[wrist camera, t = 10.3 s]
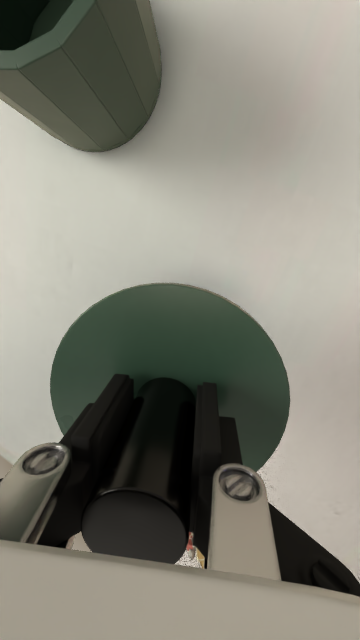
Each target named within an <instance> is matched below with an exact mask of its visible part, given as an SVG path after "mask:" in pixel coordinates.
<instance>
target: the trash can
mask: <svg viewBox="0 0 360 640" xmlns="http://www.w3.org/2000/svg"><path fill="white" fill-rule="evenodd" d="M160 84H161V51H160V45H159V41H158V37H157V32H156V28H155V23H154V19H153V15H152V10H151V6H150V1H149V0H0V99H1V100H3V101H4V102H5V103H7V104H8V105H10V106H11V107H12V108H14V109H15V110H17V111H18V112H19V113H21V114H22V115H24V116H25V117H26V118H28V119H29V120H31V121H32V122H33V123H35V124H36V125H37V126H39V127H40V128H42V129H43V130H44V131H46V132H47V133H49V134H50V135H51V136H53V137H55V138H57V139H59V140H60V141H62V142H64V143H65V144H67V145H69V146H71V147H74V148H76V149H80V150H83V151H91V152H100V151H106V150H111V149H114V148H116V147H119V146H121V145H123V144H125V143H126V142H128V141H129V140H130V139H132V138H133V137H134V136H135V135H136V134H137V133H138V132H139V131H140V130H141V129H142V127H143V126H144V125H145V124H146V122H147V120H148V119H149V117H150V116H151V113H152V111H153V109H154V107H155V104H156V101H157V98H158V94H159V89H160Z"/></svg>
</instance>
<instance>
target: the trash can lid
mask: <svg viewBox="0 0 360 640" xmlns="http://www.w3.org/2000/svg"><path fill="white" fill-rule="evenodd" d="M114 374H126V375H129V377H130V378H131V379H134V401H133V403H132V405H131V408H130V410H129V412H128V414H127V416H126V418H125V420H124V423H123V425H122V427H121V429H120V431H119V433H118V436H117V438H116V440H115V442H114V444H113V446H112V449H111V451H110V453H109V455H108V457H107V459H106V462H105V464H104V466H103V468H102V470H101V472H100V475H99V477H98V479H97V481H96V483H95V485H94V488H93V490H92V492H91V494H90V496H89V498H88V501H87V503H86V505H85V507H84V509H83V512H82V515H81V532H82V536H83V538H84V541H85V543H86V544H87V546H88V547H89V549H90V550H91V551H92V552H93V553H99V554H106V555H113V556H120V557H127V558H134V559H141V560H148V561H155V562H162V563H169V564H175V563H176V562H177V561H178V560H179V559H180V558H181V557H182V555H183V554H184V552H185V550H186V548H187V545H188V541H189V528H190V511H191V472H192V457H193V441H194V425H195V410H196V397H197V386H198V385H203V382H210V383H216V385H217V399H218V412H219V416H223V417H233V418H235V421H236V426H237V432H238V438H239V444H240V450H241V456H242V462H243V465H245V466H247V467H249V468H251V469H253V470H254V471H255V472H257V471H258V470H259V469H260V468H261V467H262V466H263V465H264V464H265V463H266V462H267V460H268V459H269V458H270V457H271V456H272V454H273V453H274V451H275V449H276V448H277V446H278V444H279V443H280V440H281V438H282V436H283V433H284V431H285V428H286V424H287V420H288V416H289V407H290V390H289V383H288V378H287V372H286V370H285V367H284V364H283V361H282V358H281V356H280V354H279V352H278V351H277V349H276V347H275V345H274V343H273V342H272V340H271V339H270V337H269V336H268V335H267V333H266V332H265V331H264V329H263V328H262V327H261V326H260V325H259V324H258V323H257V322H256V321H255V319H254V318H253V317H252V316H251V315H249V314H248V313H247V312H246V311H244V310H243V309H242V308H240V307H239V306H238V305H236V304H235V303H233V302H231V301H230V300H228V299H226V298H224V297H223V296H220V295H218V294H216V293H213V292H211V291H209V290H206V289H202V288H199V287H195V286H191V285H185V284H178V283H151V284H143V285H138V286H134V287H130V288H126V289H123V290H121V291H119V292H116V293H114V294H111V295H109V296H107V297H105V298H104V299H102V300H100V301H99V302H97V303H96V304H94V305H92V306H91V307H90V308H89V309H87V310H86V311H85V312H84V313H83V314H81V315H80V316H79V317H78V319H77V320H76V321H75V322H74V323H73V324H72V325H71V326H70V328H69V329H68V331H67V332H66V334H65V335H64V337H63V338H62V340H61V343H60V345H59V347H58V349H57V351H56V355H55V358H54V361H53V365H52V371H51V378H50V393H51V400H52V406H53V410H54V414H55V417H56V420H57V422H58V425H59V427H60V429H61V432H62V433H63V435H65V434H66V433H67V431H68V430H69V429H70V427H71V426H72V424H73V423H74V422H75V420H76V419H77V418H78V416H79V415H80V414H81V412H82V411H83V410H84V408H85V407H86V406H87V405H88V404H89V403H95V401H96V400H97V398H98V397H99V396H100V394H101V393H102V391H103V390H104V388H105V387H106V386H107V384H108V383H109V381H110V380H111V379H112V377H113V376H114Z"/></svg>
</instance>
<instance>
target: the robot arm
mask: <svg viewBox="0 0 360 640" xmlns="http://www.w3.org/2000/svg"><path fill="white" fill-rule="evenodd" d="M133 401H134V379H131V378H130V377H129V375H126V374H114V376H113V377H112V379H111V380H110V381H109V383H108V384H107V386H106V387H105V388H104V390H103V391H102V393H101V394H100V396H99V397H98V398H97V400H96V401H95V403H89V404H88V405H87V406H86V407H85V408H84V410H83V411H82V412H81V414H80V415H79V416H78V418H77V419H76V420H75V422H74V423H73V424H72V426H71V427H70V429H69V430H68V431H67V433H66V434H65V435H64V437H63V438H62V439H61V441H60V442H59V443H45V444H41V445H38V446H35V447H33V448H31V449H30V450H28V451H26V452H25V453H24V454H23V455H22V456H21V457H20V458H19V459H18V461H17V462H16V463H15V464H14V466H13V467H12V468H11V469H10V471H9V472H8V473H7V475H6V476H5V477H4V478H2V479H0V640H360V583H359V582H358V581H357V579H356V578H355V576H354V575H353V574H352V572H351V571H350V570H349V569H348V568H347V567H346V566H345V565H344V564H343V563H341V562H340V561H339V560H338V559H337V558H335V557H334V556H333V555H332V554H331V553H329V552H328V551H327V550H326V549H324V548H323V547H322V546H321V545H320V544H318V543H317V542H316V541H315V540H314V539H312V538H311V537H310V536H309V535H307V534H306V533H305V532H304V531H303V530H301V529H300V528H299V527H298V526H297V525H295V524H294V523H293V522H292V521H290V520H289V519H288V518H287V517H286V516H284V515H283V514H282V513H281V512H280V511H278V510H277V509H276V508H275V507H274V506H272V505H271V504H270V503H269V502H268V499H267V493H266V487H265V484H264V481H263V480H262V478H261V477H260V476H259V474H258V473H256V472H255V471H254V470H253V469H251V468H249V467H247V466H245V465H243V462H242V456H241V450H240V444H239V438H238V432H237V426H236V421H235V418H233V417H223V416H219V412H218V399H217V385H216V383H210V382H203V385H198V386H197V397H196V410H195V425H194V441H193V457H192V472H191V511H190V528H189V532H193V546H196V548H197V549H198V550H199V551H200V553H201V554H202V555H203V556H204V567H203V569H202V568H195V567H189V566H182V565H175V564H169V563H162V562H155V561H148V560H141V559H134V558H127V557H120V556H113V555H106V554H99V553H92V552H85V551H78V550H71V549H72V546H73V543H74V538H75V534H77V533H79V532H80V531H81V515H82V512H83V509H84V507H85V505H86V503H87V501H88V498H89V496H90V494H91V492H92V490H93V488H94V485H95V483H96V481H97V479H98V477H99V475H100V472H101V470H102V468H103V466H104V464H105V462H106V459H107V457H108V455H109V453H110V451H111V449H112V446H113V444H114V442H115V440H116V438H117V436H118V433H119V431H120V429H121V427H122V425H123V423H124V420H125V418H126V416H127V414H128V412H129V410H130V408H131V405H132V403H133Z"/></svg>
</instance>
